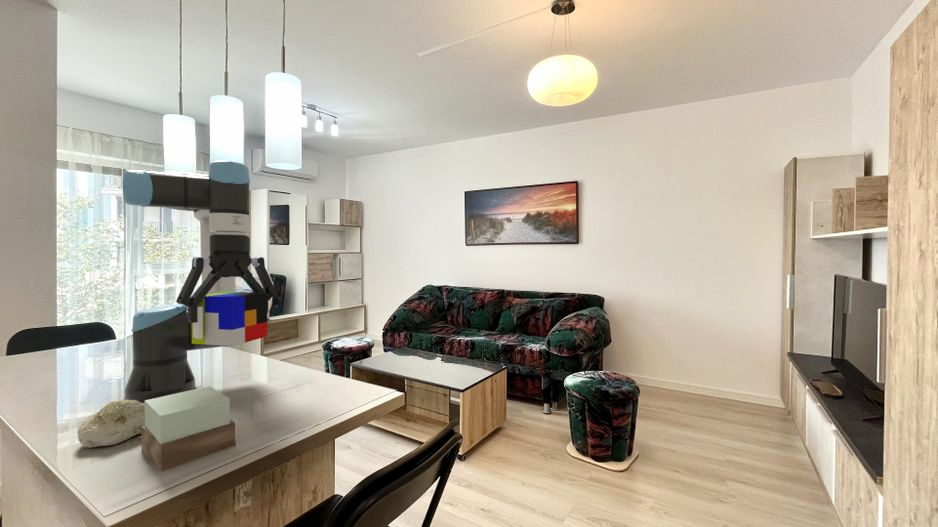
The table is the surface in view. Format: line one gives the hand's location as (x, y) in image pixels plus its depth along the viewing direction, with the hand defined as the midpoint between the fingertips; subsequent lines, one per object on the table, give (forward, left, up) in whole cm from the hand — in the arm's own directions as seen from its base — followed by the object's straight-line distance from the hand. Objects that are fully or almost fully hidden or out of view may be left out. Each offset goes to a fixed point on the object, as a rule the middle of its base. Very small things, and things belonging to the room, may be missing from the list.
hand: (231, 333), depth 87 cm
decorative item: (-13, -16, -21) cm, 30 cm away
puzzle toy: (0, 0, -2) cm, 2 cm away
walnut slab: (+4, -9, -21) cm, 23 cm away
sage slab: (+4, -9, -16) cm, 19 cm away
